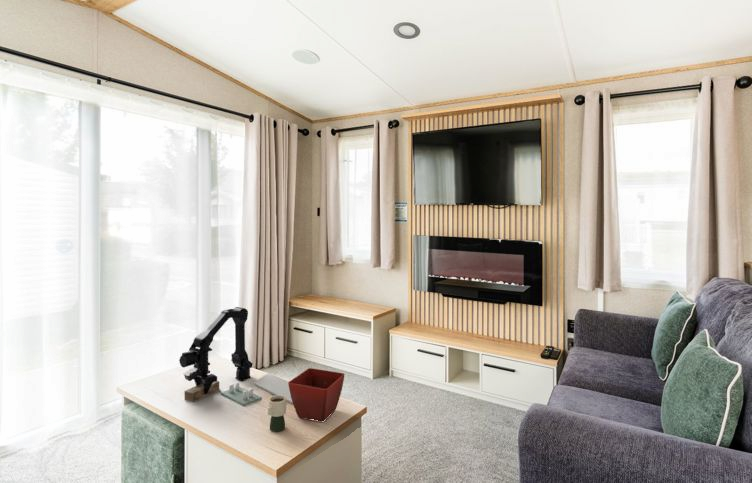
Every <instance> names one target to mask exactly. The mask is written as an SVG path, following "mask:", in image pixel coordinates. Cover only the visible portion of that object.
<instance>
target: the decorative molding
mask: <svg viewBox="0 0 752 483" xmlns="http://www.w3.org/2000/svg"><path fill="white" fill-rule="evenodd" d="M289 381H290V380H289ZM289 381H288V380H286V379H283V378H282V377H279V376H277V375H275V374H273V373H270V372H268V373H266V374H265V375H263V376H262V377H260V378H258V379H257V380H255V381H254V382H253V385H254V386H256V387H257V388H260V389H261V390H263V391H265V392H267V393H269V394H272V396H276V395H283V396H285V397H286V399H287V403H289V404H291V405H293V402H292V398H291V395H290V390H289V384H288V382H289Z"/></svg>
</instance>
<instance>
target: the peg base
mask: <svg viewBox="0 0 752 483" xmlns="http://www.w3.org/2000/svg"><path fill="white" fill-rule="evenodd" d="M234 384H235V386H234ZM228 386H229V387H228V388H229V389H227V390H225V391H222V392H220V395H221V396H223V397H225V398H227V399H229V400H231V401H232V402H234V403H236V404H238V405H240V406H242V407H245V406H248V405H250V404H253V403H256V402H259V401H261V400H262V399H263V398H262V396H260V395H257V394H256V393H254V388H253V387H252V388H251V387H250V388H249V389H248V390H247V389H246V388H243V387H241V386H240V381H236V382H235V383H230V384H229V385H228Z"/></svg>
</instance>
